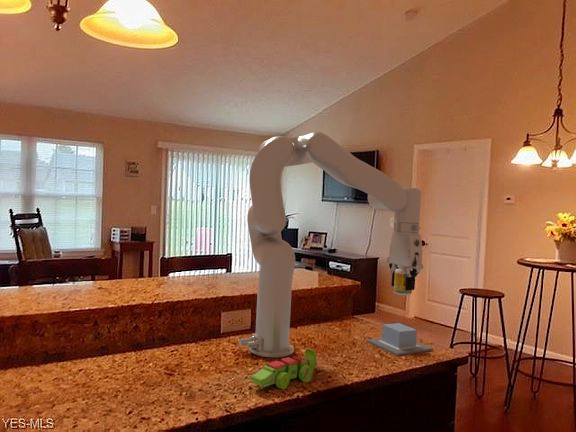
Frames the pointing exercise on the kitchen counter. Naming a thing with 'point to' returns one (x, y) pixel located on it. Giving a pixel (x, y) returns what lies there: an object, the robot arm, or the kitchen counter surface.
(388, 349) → the base plate
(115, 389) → the kitchen counter surface
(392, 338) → the light blue block
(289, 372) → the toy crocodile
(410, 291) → the supplement bottle
